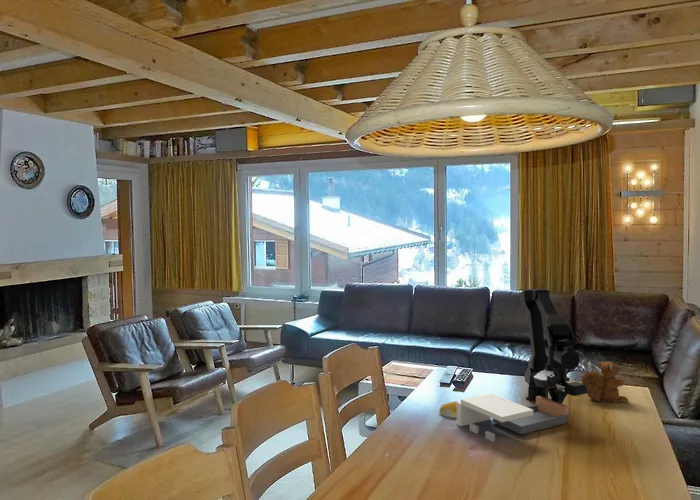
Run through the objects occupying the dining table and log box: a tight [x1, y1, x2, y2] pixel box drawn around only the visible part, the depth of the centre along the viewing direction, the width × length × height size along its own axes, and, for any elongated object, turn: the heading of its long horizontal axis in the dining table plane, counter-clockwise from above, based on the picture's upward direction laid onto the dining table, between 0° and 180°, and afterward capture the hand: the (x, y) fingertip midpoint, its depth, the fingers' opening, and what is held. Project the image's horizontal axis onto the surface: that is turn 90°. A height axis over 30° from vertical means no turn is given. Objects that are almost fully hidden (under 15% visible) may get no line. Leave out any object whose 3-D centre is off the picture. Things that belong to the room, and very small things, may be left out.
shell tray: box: [492, 396, 570, 435], centre depth 180 cm, size 20×12×5 cm, turn 118°
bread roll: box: [439, 401, 458, 419], centre depth 190 cm, size 8×9×4 cm
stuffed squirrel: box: [580, 361, 629, 403], centre depth 202 cm, size 10×14×13 cm
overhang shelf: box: [456, 392, 533, 443], centre depth 174 cm, size 12×20×8 cm, turn 28°
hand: (556, 409), depth 186 cm, fingers closed
